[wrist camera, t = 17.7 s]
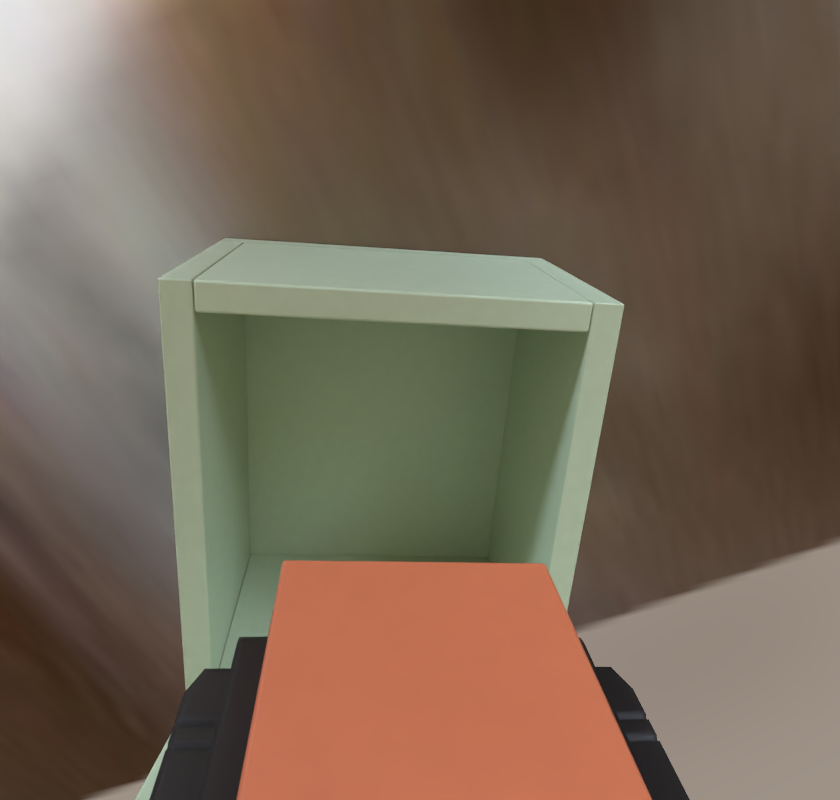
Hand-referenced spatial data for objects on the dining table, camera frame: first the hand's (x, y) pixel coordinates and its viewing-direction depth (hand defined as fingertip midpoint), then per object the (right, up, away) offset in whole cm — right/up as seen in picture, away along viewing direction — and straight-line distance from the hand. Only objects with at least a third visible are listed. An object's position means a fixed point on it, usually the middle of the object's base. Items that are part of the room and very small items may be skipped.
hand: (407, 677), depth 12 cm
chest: (-2, +4, +17) cm, 17 cm away
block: (0, 0, 0) cm, 0 cm away
